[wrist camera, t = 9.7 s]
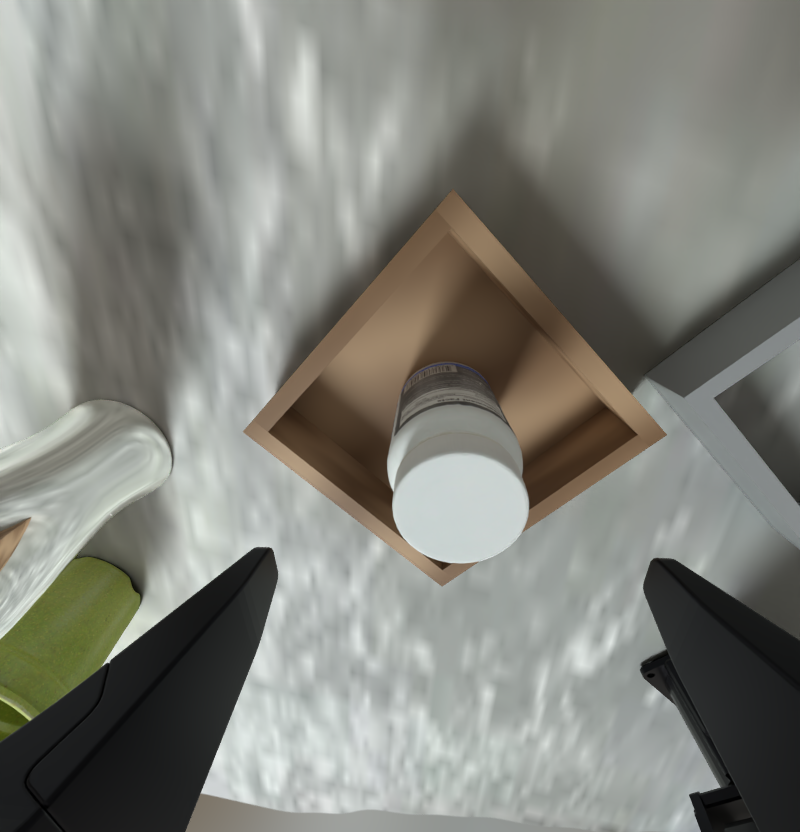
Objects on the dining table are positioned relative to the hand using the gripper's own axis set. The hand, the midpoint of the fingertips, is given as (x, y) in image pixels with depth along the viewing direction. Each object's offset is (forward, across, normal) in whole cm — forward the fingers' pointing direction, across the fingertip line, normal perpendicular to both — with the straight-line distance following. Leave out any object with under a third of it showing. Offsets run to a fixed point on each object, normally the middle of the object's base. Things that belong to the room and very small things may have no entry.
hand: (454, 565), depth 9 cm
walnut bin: (+11, 0, 0) cm, 11 cm away
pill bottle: (+11, 0, 0) cm, 11 cm away
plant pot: (+11, +24, +14) cm, 30 cm away
